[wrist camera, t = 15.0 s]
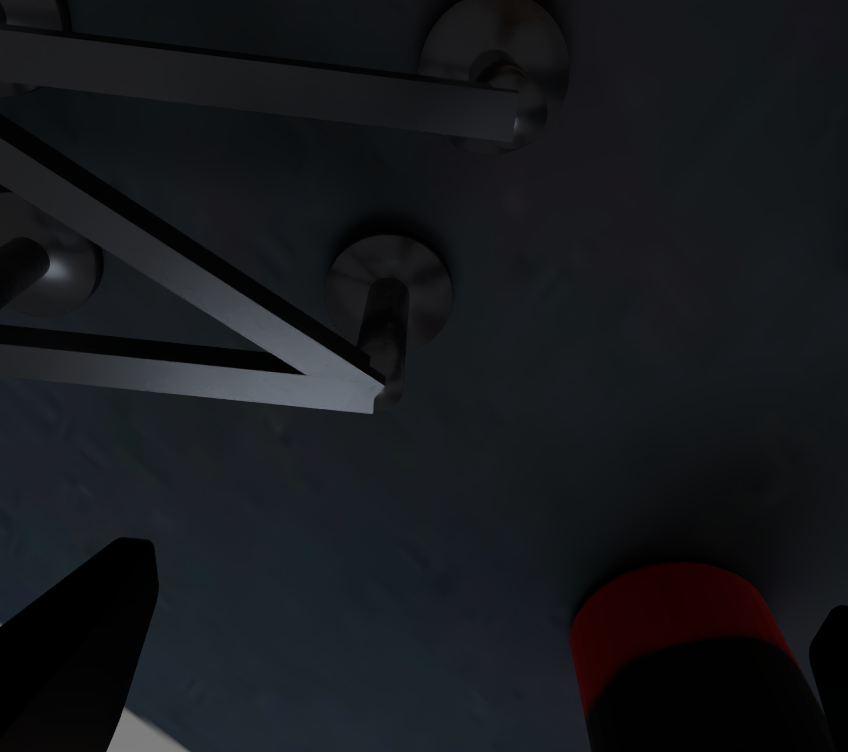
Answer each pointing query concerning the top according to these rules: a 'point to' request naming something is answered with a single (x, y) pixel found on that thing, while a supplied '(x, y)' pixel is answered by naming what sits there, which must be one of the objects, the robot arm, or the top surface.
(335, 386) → the zigzag metal pull handle
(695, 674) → the soda can
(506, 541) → the top surface
